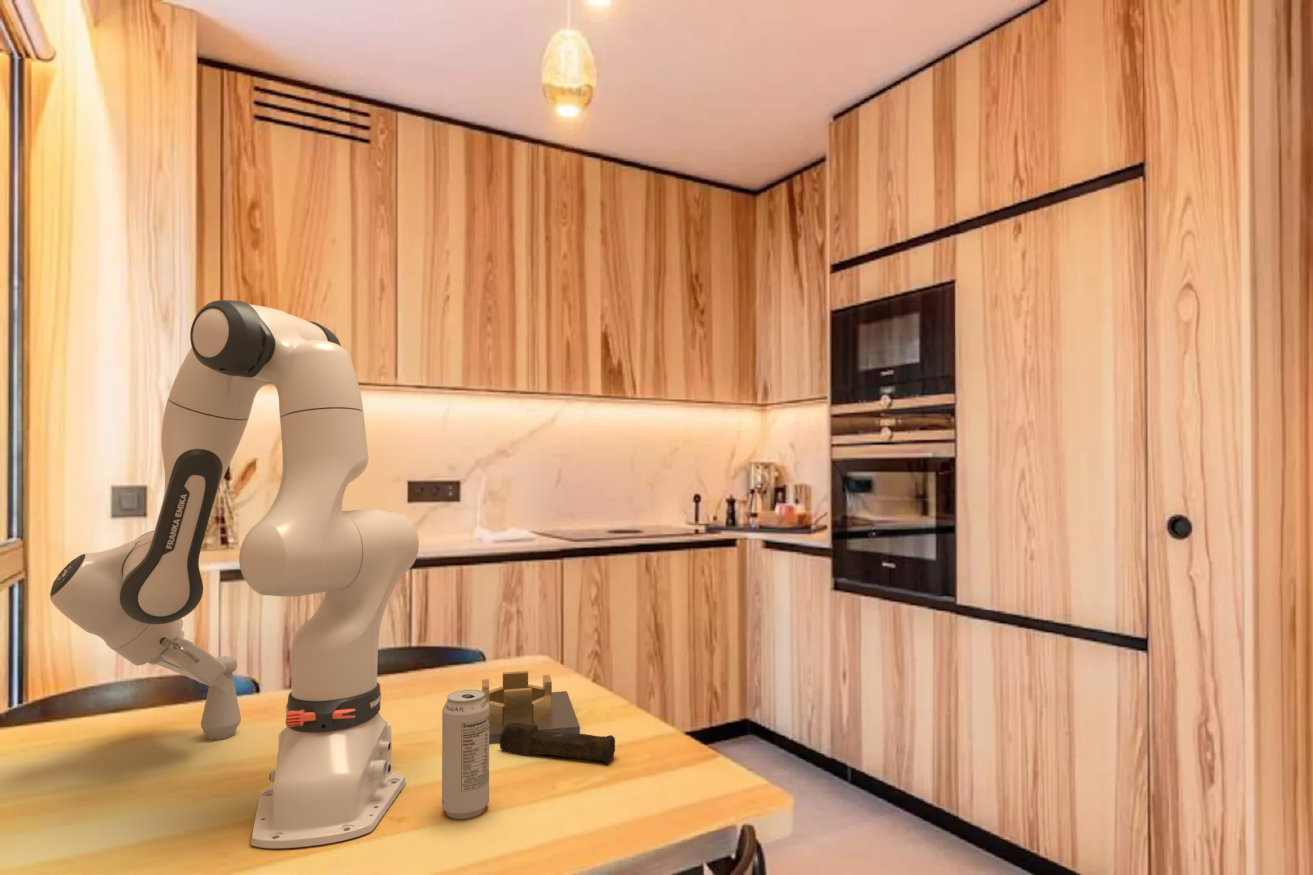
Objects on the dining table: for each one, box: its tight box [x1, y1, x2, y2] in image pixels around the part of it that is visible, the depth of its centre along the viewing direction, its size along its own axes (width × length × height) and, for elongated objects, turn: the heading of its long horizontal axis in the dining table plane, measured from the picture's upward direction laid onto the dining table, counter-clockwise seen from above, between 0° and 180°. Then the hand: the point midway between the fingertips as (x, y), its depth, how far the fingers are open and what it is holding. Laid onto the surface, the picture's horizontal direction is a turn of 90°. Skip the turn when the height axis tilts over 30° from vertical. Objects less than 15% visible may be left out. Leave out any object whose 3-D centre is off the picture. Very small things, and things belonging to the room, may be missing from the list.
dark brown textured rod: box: [499, 723, 616, 766], centre depth 116 cm, size 19×4×5 cm, turn 73°
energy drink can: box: [441, 689, 490, 820], centre depth 97 cm, size 6×6×15 cm
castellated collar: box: [481, 670, 581, 745], centre depth 131 cm, size 20×20×7 cm
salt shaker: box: [200, 655, 242, 741], centre depth 125 cm, size 6×6×13 cm
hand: (216, 683), depth 124 cm, fingers open, 8 cm apart
